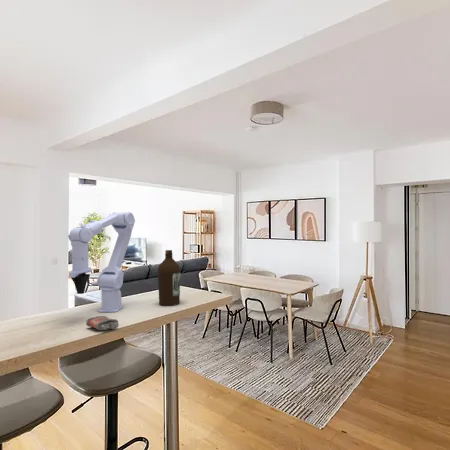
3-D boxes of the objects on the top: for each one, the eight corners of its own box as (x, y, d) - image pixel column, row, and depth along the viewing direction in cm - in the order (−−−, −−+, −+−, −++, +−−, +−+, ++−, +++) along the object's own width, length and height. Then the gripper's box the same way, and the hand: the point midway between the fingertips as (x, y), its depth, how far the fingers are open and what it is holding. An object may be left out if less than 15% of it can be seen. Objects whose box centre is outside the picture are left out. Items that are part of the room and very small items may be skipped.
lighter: (107, 314, 119) (122, 319, 113) (106, 323, 119) (121, 328, 113) (86, 318, 113) (101, 323, 107) (85, 327, 113) (100, 333, 107)
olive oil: (153, 305, 145) (152, 251, 145) (165, 300, 155) (164, 249, 155) (174, 307, 142) (173, 251, 142) (184, 301, 152) (184, 249, 152)
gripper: (82, 260, 116) (82, 297, 116) (98, 256, 131) (98, 289, 131) (63, 260, 116) (63, 297, 116) (81, 256, 131) (81, 289, 131)
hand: (80, 293), depth 124 cm, fingers closed
